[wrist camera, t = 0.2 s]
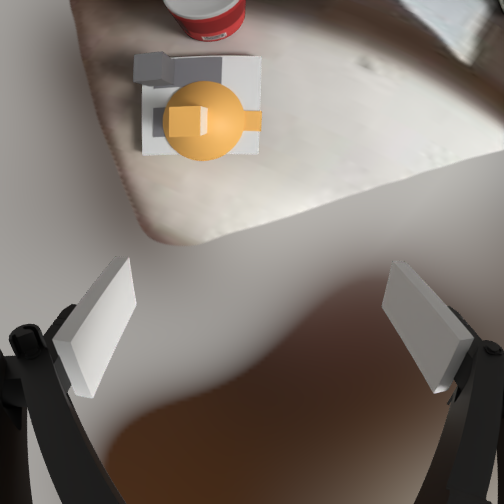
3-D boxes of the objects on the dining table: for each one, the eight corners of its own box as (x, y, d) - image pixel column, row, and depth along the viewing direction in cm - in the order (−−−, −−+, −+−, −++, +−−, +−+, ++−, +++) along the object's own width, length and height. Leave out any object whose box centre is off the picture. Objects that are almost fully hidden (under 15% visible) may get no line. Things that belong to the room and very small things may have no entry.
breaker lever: (181, 108, 34) (169, 107, 28) (207, 108, 34) (199, 105, 28) (181, 133, 35) (169, 137, 29) (207, 133, 35) (199, 136, 29)
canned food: (258, 12, 31) (263, -23, 21) (215, 55, 33) (204, 32, 23) (211, -19, 29) (201, -58, 19) (169, 23, 31) (144, -5, 21)
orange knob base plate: (147, 62, 33) (125, 51, 25) (262, 59, 33) (267, 44, 26) (147, 159, 38) (125, 170, 31) (259, 159, 39) (262, 169, 31)
